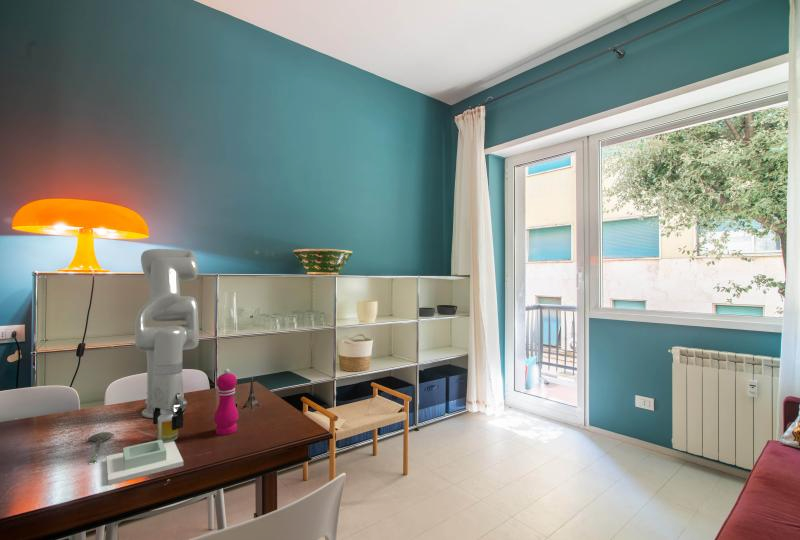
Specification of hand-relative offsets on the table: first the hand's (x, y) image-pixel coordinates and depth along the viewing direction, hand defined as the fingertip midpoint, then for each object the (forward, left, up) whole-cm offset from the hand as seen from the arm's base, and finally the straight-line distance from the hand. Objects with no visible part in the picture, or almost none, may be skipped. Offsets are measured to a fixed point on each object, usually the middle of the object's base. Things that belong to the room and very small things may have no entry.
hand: (168, 425), depth 121 cm
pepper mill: (+10, +13, -4) cm, 17 cm away
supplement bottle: (0, 0, -5) cm, 4 cm away
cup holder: (+10, -12, -4) cm, 16 cm away
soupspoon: (-12, -14, -5) cm, 18 cm away
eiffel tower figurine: (-2, +33, -5) cm, 33 cm away
